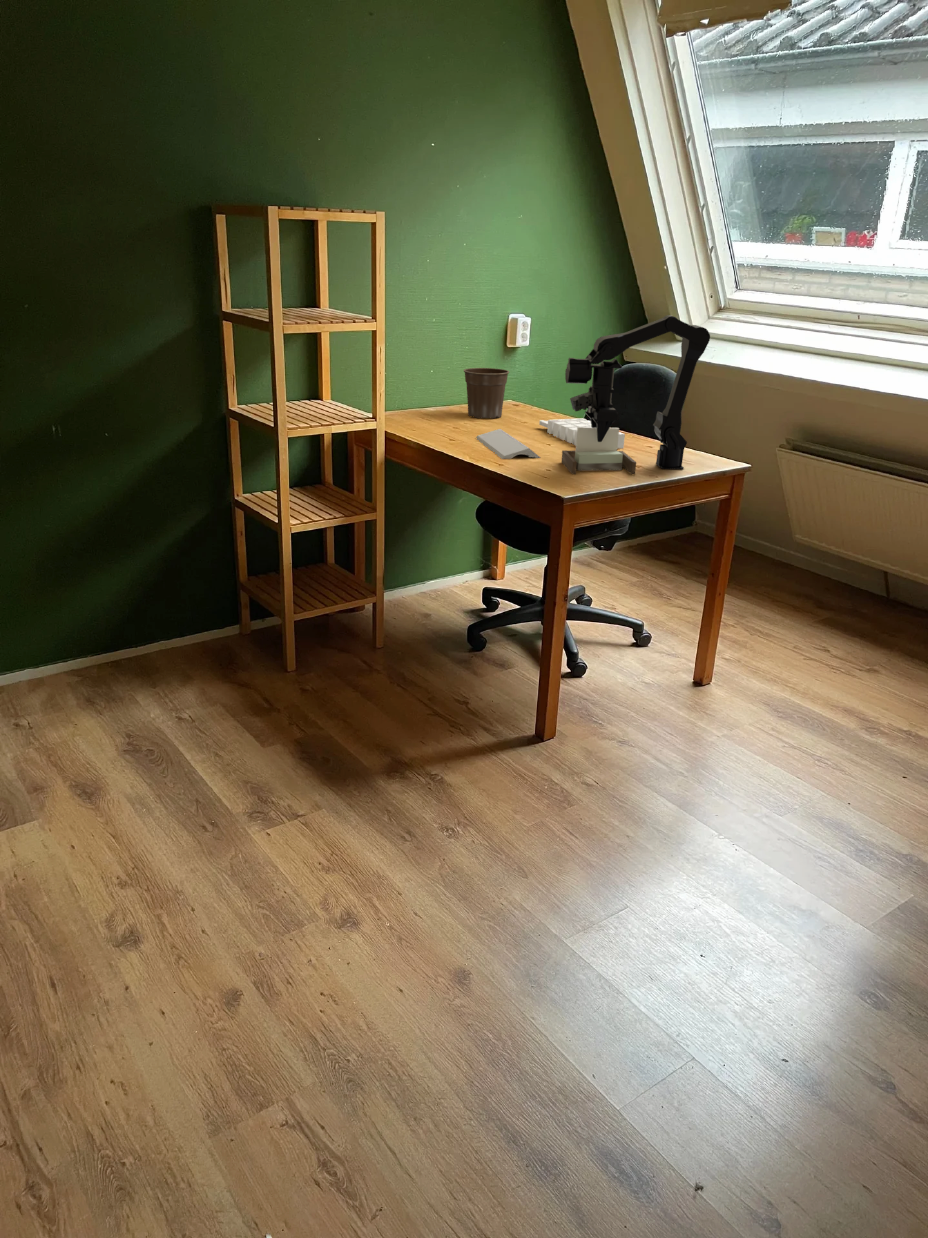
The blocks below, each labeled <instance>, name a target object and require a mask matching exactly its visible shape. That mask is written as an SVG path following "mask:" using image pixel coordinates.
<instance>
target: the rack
mask: <svg viewBox="0 0 928 1238" xmlns="http://www.w3.org/2000/svg"><path fill="white" fill-rule="evenodd" d="M617 451H618V452H620V453H622V454H623V458H622V468H623V469H624V470H626V471H627V472H628V473H629V474H630V475H632V474H635V475H636V471H637V469H636V468H637V461H636V460H634V459H633V458H632V457H631V456H630V455H628V454H627V453H626V452H625V451H624V450H617ZM561 464H562V465H563V466H564V467H565V468H566V469H567V470H568V471H569V473H570V474H572V475H576V474H577V470H576V464H577V462H576V461H575V450H561Z"/></svg>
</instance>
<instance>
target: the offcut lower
mask: <svg viewBox="0 0 928 1238" xmlns="http://www.w3.org/2000/svg"><path fill="white" fill-rule="evenodd" d="M622 470H623V467H622V463H590V464H579V463H577V464H576V471H578V472H579V471H622Z"/></svg>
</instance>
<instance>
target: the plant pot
mask: <svg viewBox="0 0 928 1238" xmlns="http://www.w3.org/2000/svg"><path fill="white" fill-rule="evenodd" d="M463 372H464V380H465V383H466V400H467V415H468V416H469V417H470V416H472V417H471V418H476V419H482V418H492V419H496V418H498V419H499V418H501V417H502V416H503V405H504V399H505V398H504V397H505V392H506V384H507V382H508V377H509V376H508V375H509V373H510V371H509V370H507V369H503V368H494V367H493V368H492V367H491V368H490V367H474V368H473V367H471V368H465V369H463ZM473 416H474V417H473Z"/></svg>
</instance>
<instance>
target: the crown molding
mask: <svg viewBox="0 0 928 1238" xmlns="http://www.w3.org/2000/svg"><path fill="white" fill-rule="evenodd" d="M476 438H477V439H476ZM475 439H476V441H478V440H479V441H478V442H479V443H481V444H482V443H483V444H482V445H483V446H485V447H486V448H487V447H488V448H487V449H488V450H489V451H491V452H492V451H493V452H492V453H494V452H495V453H494V454H495V455H496V454H497V455H496V456H497V457H499V458H500V459H501V460H510V459H511V460H512V459H513V458H514V457H516V456H518V455H524V456H527V457H529V458H535V459H541V456H539V455H538V454H537V453H536V452H534V451H533V450H532V449H531V448H530V447H528V446H527V445H525V444H523V443H522V442H521V441H519V440H518V439H517V438H515V437H513V436H512V435H510V434H509V433H507V432H506V431H504V430H503V429H501V428H498V429H495V430H491V431H488V432H485V433H482V434H479V435H477V436H476V437H475Z"/></svg>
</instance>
